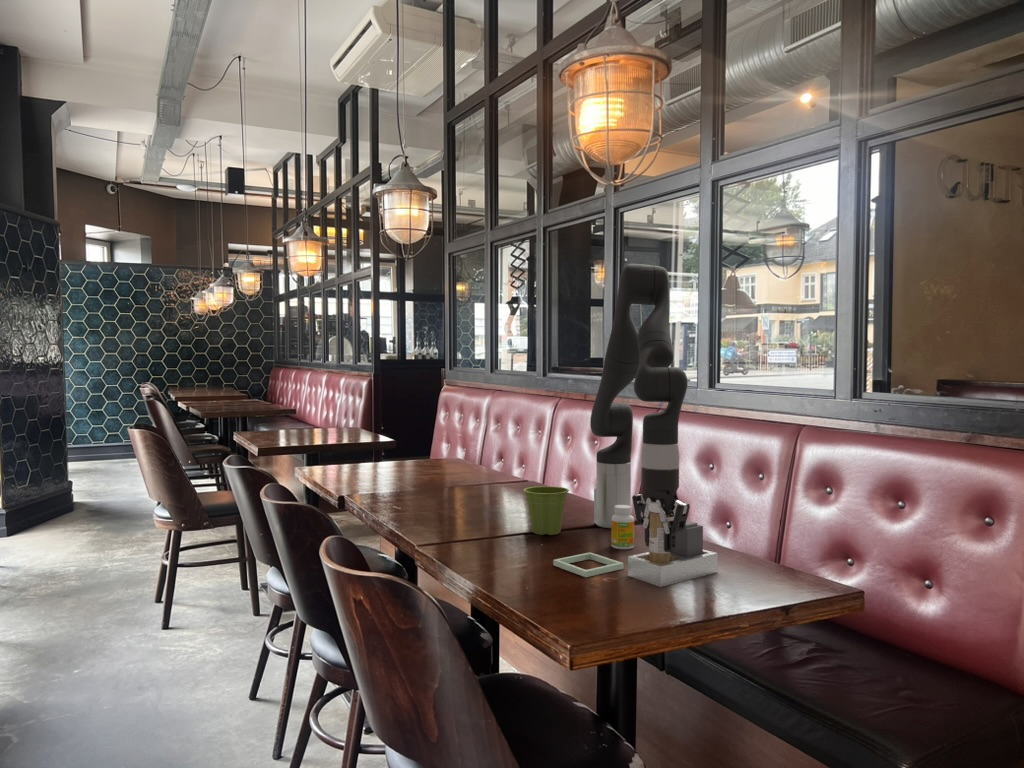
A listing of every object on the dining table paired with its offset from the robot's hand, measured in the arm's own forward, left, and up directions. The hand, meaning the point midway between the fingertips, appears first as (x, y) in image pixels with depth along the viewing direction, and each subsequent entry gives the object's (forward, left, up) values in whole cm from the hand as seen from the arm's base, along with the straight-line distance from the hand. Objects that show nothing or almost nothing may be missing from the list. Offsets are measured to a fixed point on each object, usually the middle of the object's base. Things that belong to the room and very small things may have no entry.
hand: (659, 548), depth 142 cm
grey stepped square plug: (0, +8, -6) cm, 10 cm away
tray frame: (-14, -7, -6) cm, 17 cm away
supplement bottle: (-22, +11, -6) cm, 25 cm away
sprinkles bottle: (0, 0, -4) cm, 4 cm away
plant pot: (-44, +5, -6) cm, 45 cm away
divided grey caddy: (0, +4, -6) cm, 7 cm away
